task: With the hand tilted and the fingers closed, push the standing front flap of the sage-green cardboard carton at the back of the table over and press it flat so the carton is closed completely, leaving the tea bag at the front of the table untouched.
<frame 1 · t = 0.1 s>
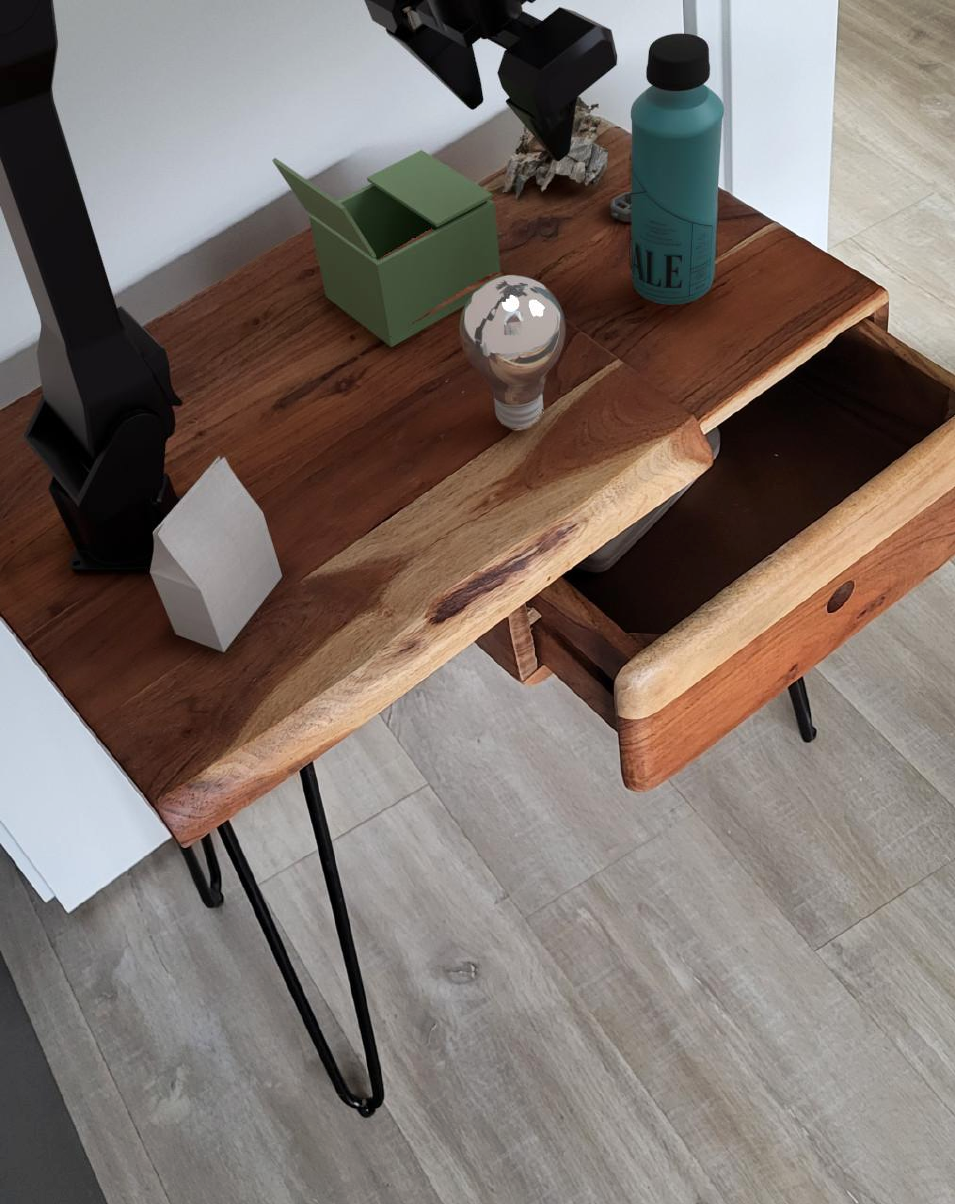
hand: (518, 130, 89), 15 cm above the table, tool pointing down, fingers open, 9 cm apart
light bulb: (520, 428, 93), on the table
beverage bottle: (671, 299, 100), on the table
key: (648, 178, 110), on the table
carton: (413, 290, 104), on the table
rock: (597, 163, 114), on the table
tea bag: (230, 606, 84), on the table
flap: (324, 208, 93), point 10 cm above the table, hinge at 110.0°
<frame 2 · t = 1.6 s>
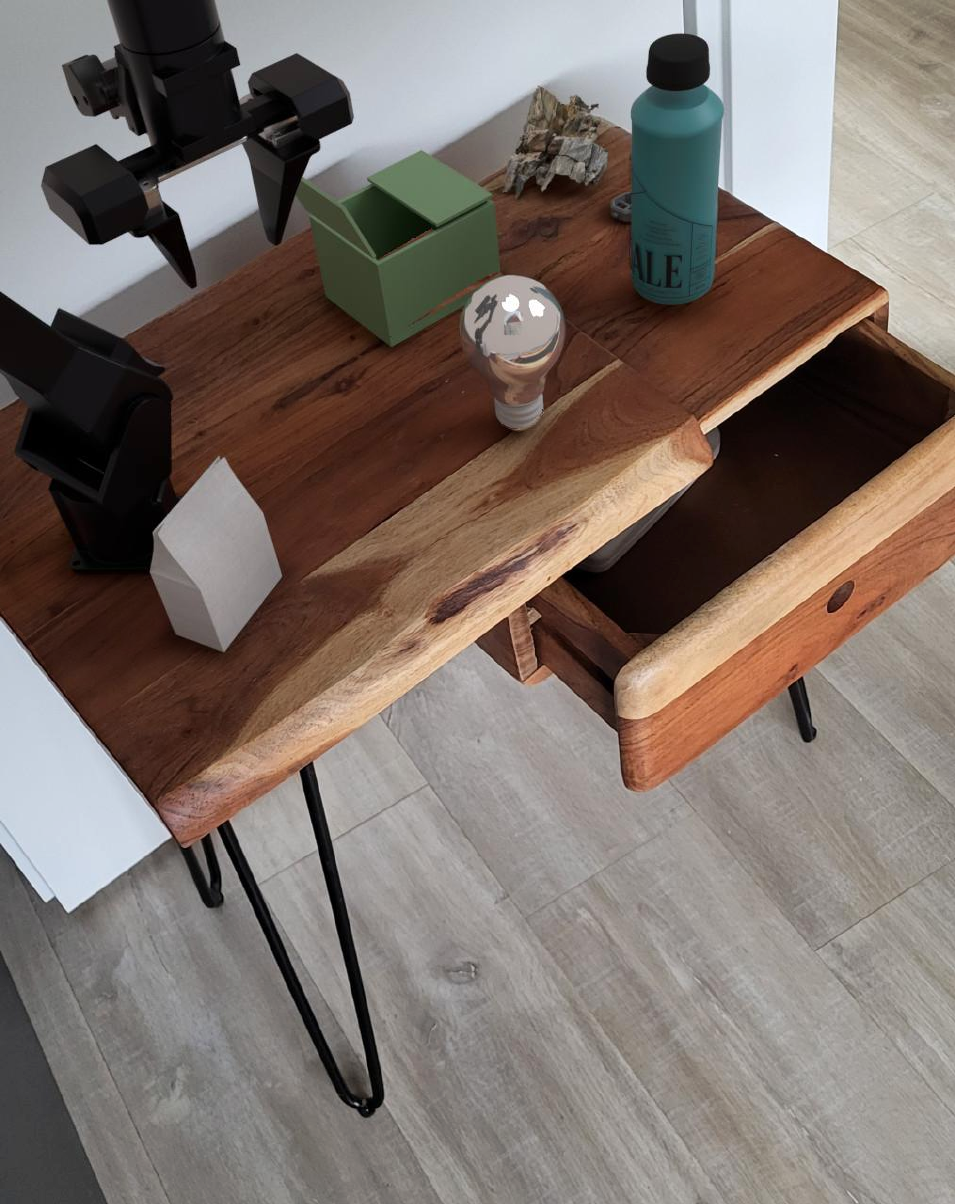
hand: (233, 263, 86), 13 cm above the table, tool pointing down, fingers open, 6 cm apart
nothing on the table moved.
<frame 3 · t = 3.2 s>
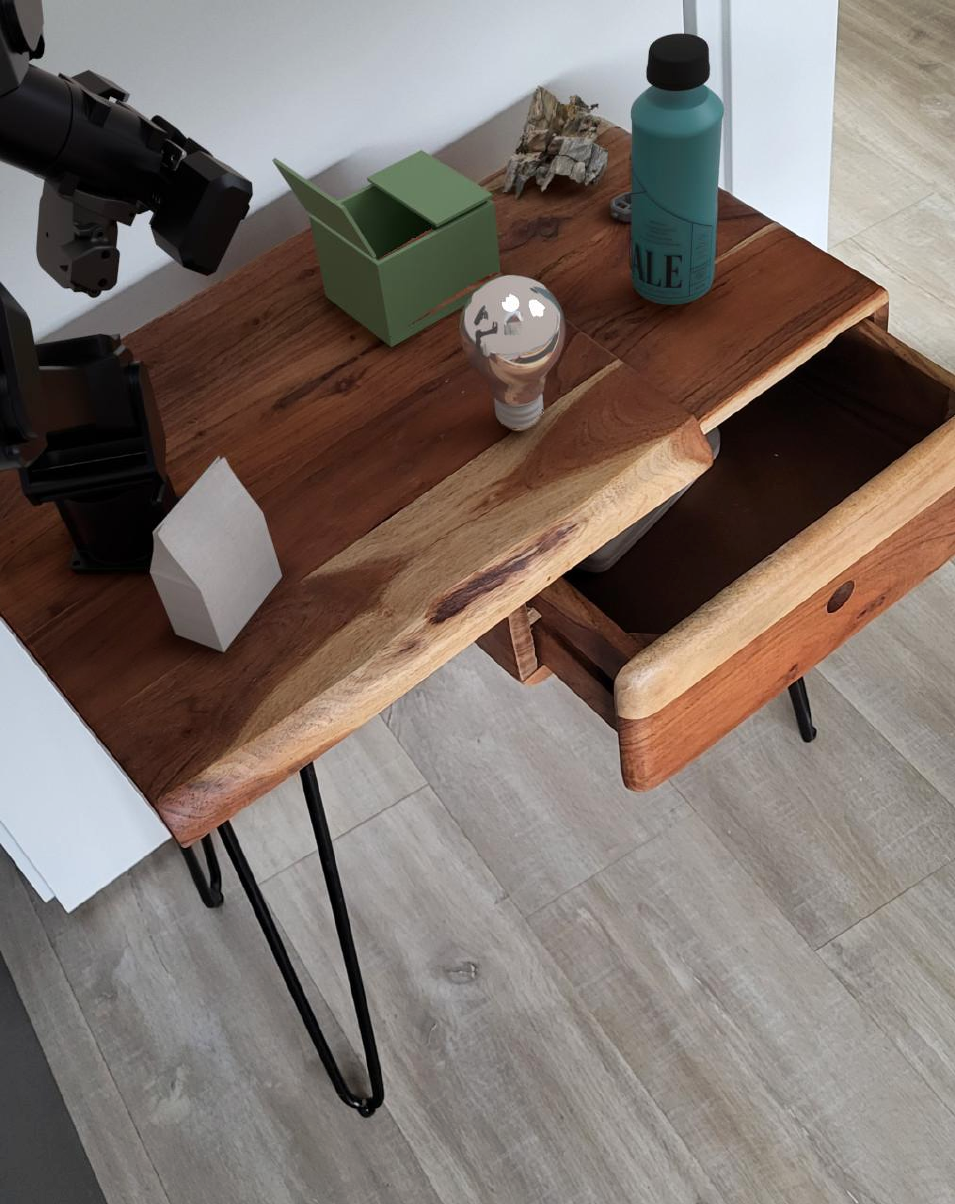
hand: (244, 211, 89), 13 cm above the table, tool tilted 45°, fingers closed
nothing on the table moved.
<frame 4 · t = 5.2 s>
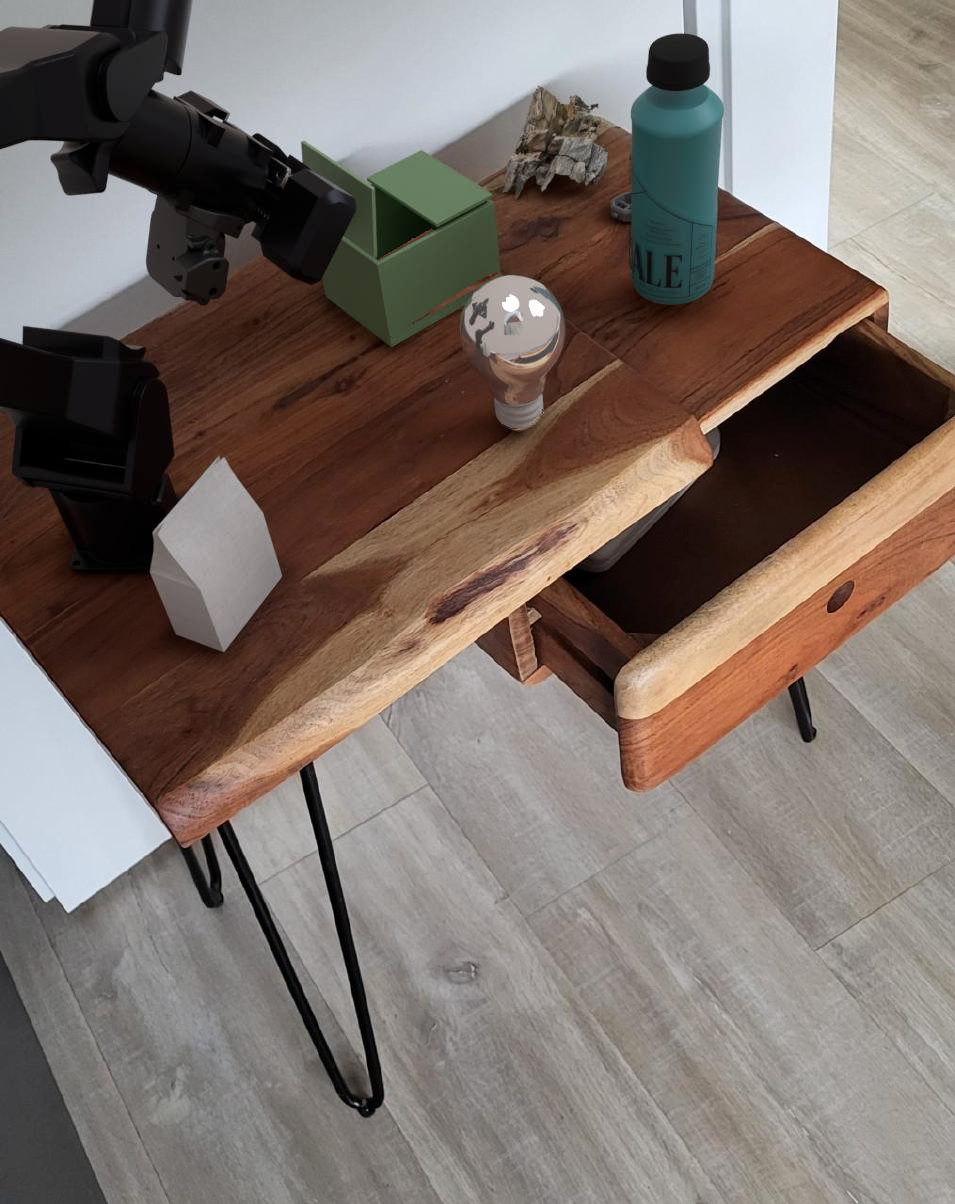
hand: (334, 222, 95), 9 cm above the table, tool tilted 45°, fingers closed, pressing on flap
flap: (338, 198, 94), point 11 cm above the table, hinge at 81.5°, touching gripper
everything else where it was.
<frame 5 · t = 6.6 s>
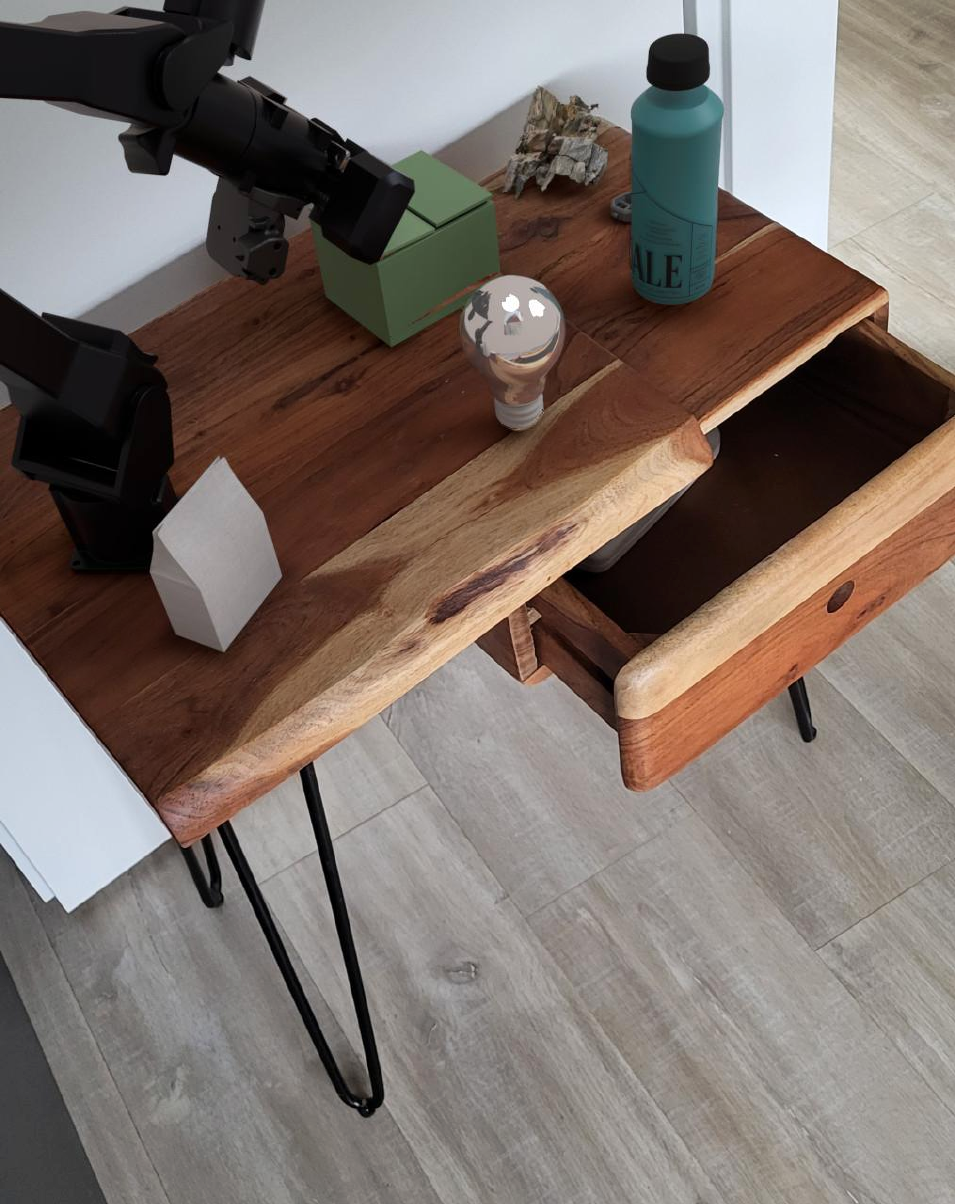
hand: (387, 205, 97), 8 cm above the table, tool tilted 45°, fingers closed, pressing on flap
flap: (370, 219, 97), point 8 cm above the table, hinge at -3.0°, touching gripper
everything else where it was.
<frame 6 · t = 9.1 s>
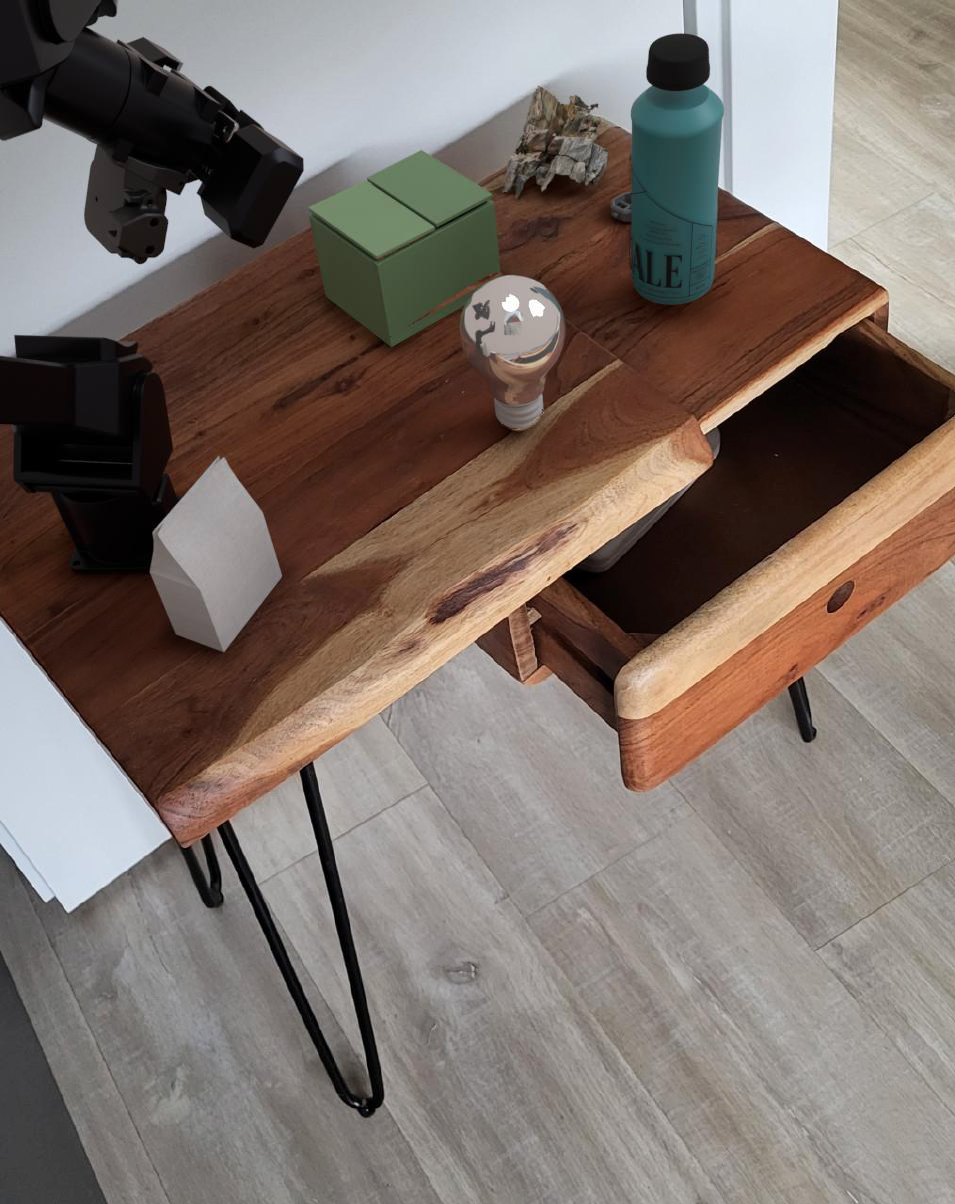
hand: (289, 185, 90), 13 cm above the table, tool tilted 45°, fingers closed
flap: (370, 218, 97), point 8 cm above the table, hinge at -1.5°
everything else where it was.
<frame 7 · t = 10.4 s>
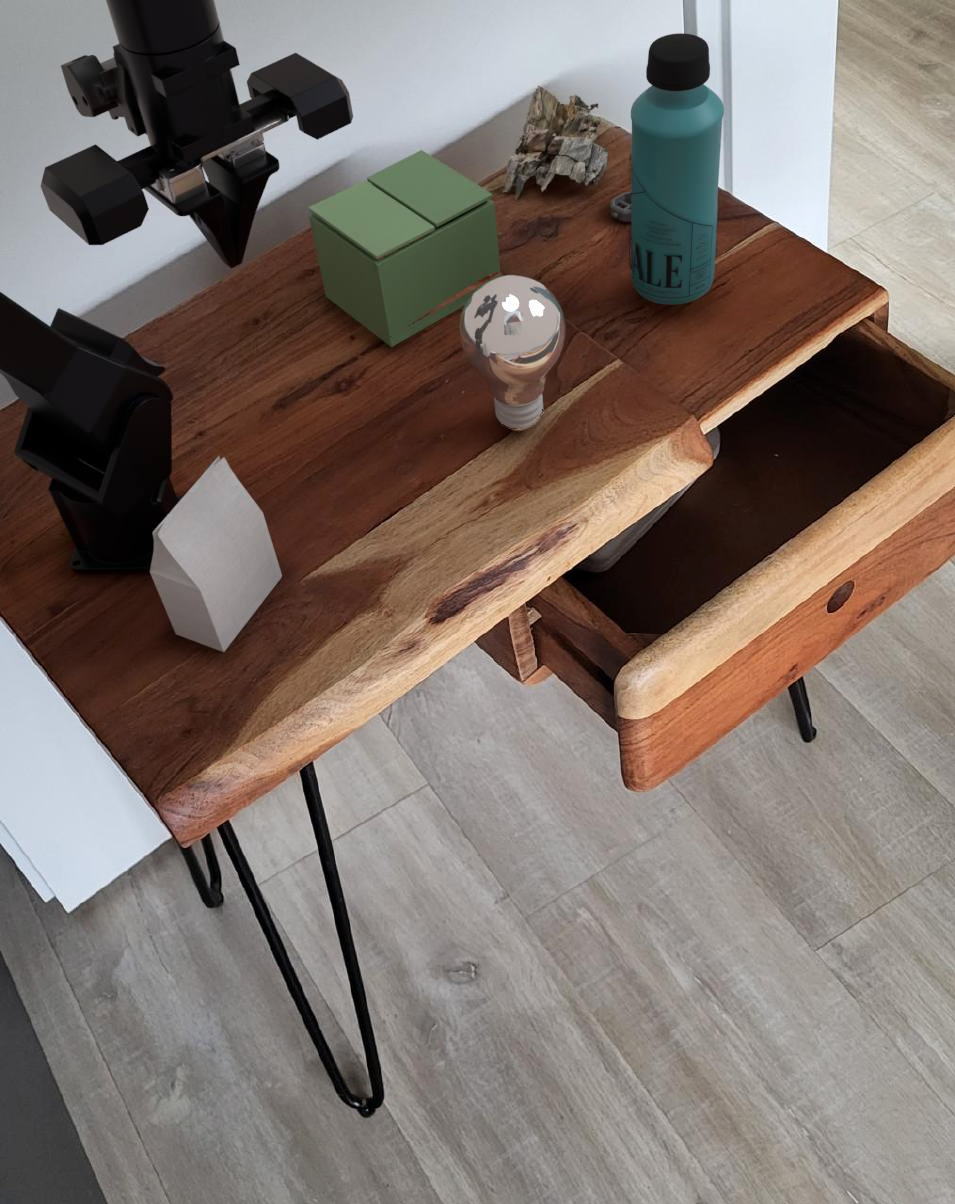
hand: (232, 263, 86), 13 cm above the table, tool pointing down, fingers closed
nothing on the table moved.
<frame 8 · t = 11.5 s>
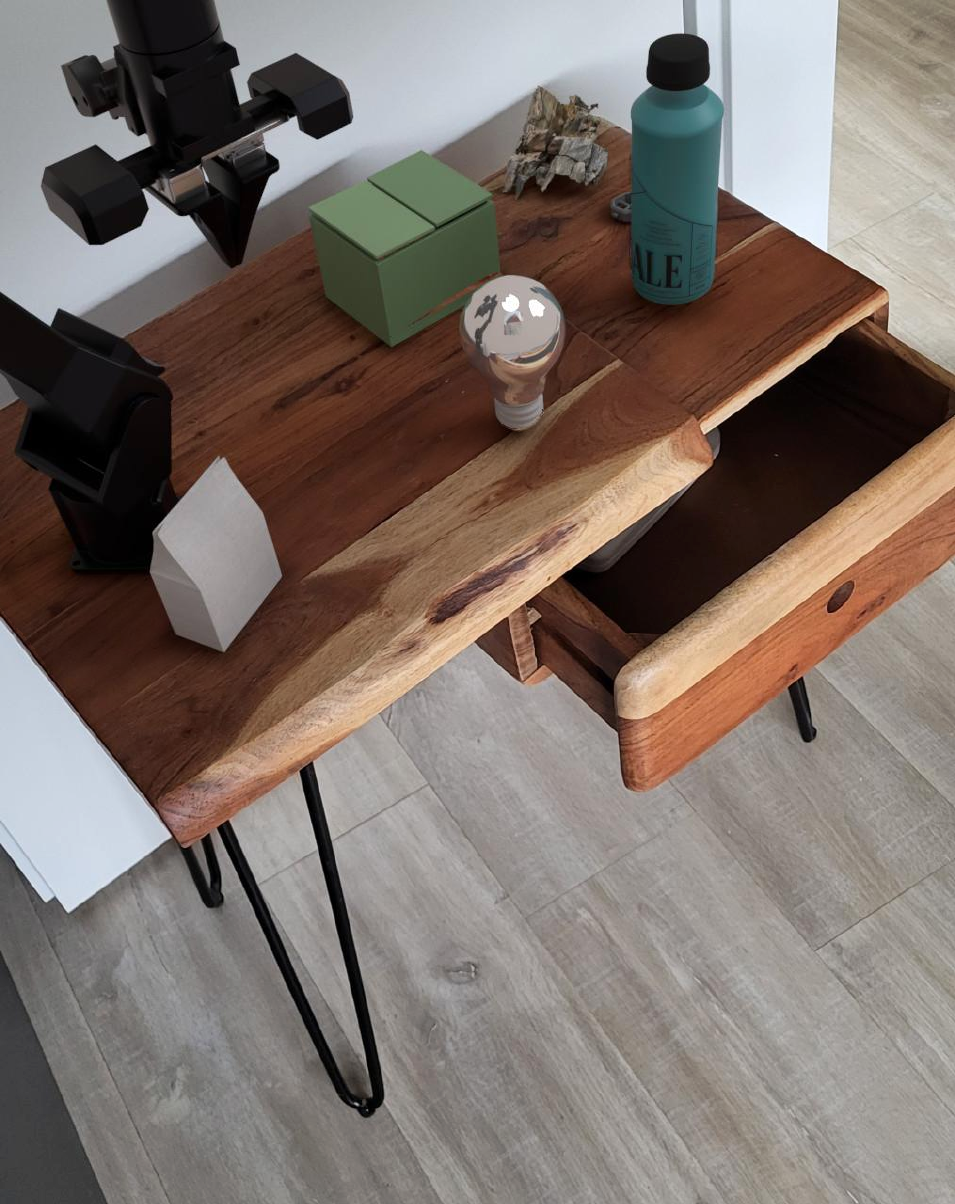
hand: (233, 263, 86), 13 cm above the table, tool pointing down, fingers closed
nothing on the table moved.
at the end: flap at -2° (first picture: +110°); tea bag moved 0.2 cm from its start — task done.
